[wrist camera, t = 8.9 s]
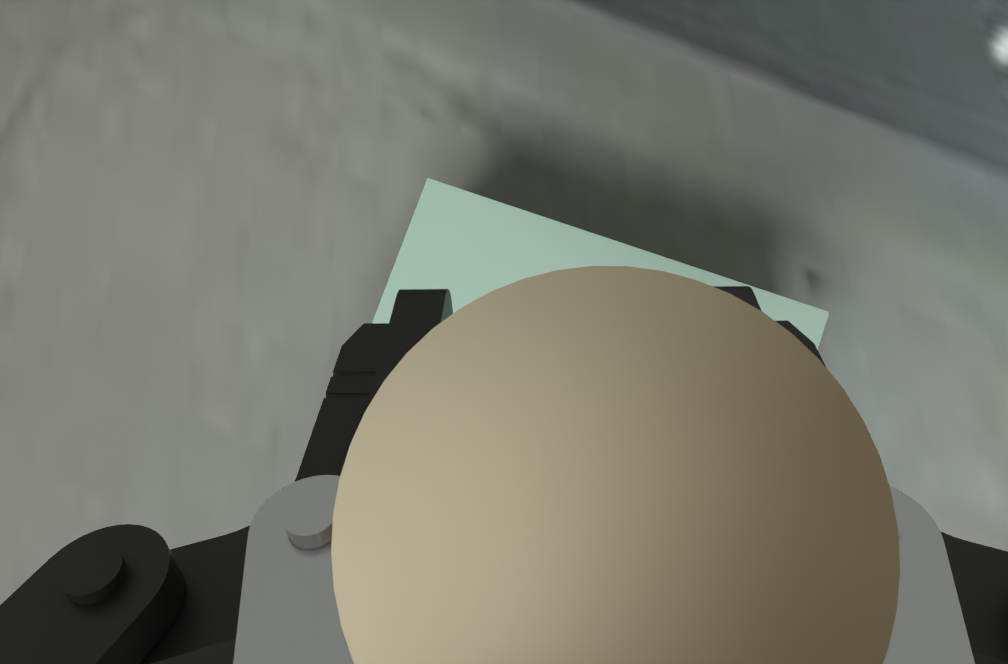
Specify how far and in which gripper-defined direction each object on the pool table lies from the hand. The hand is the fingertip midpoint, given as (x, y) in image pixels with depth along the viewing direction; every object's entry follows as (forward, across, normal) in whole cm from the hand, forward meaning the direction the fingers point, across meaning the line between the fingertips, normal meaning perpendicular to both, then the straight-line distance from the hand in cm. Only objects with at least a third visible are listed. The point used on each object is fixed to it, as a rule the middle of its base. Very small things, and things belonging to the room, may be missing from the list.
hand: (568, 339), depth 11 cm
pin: (+1, 0, +4) cm, 5 cm away
